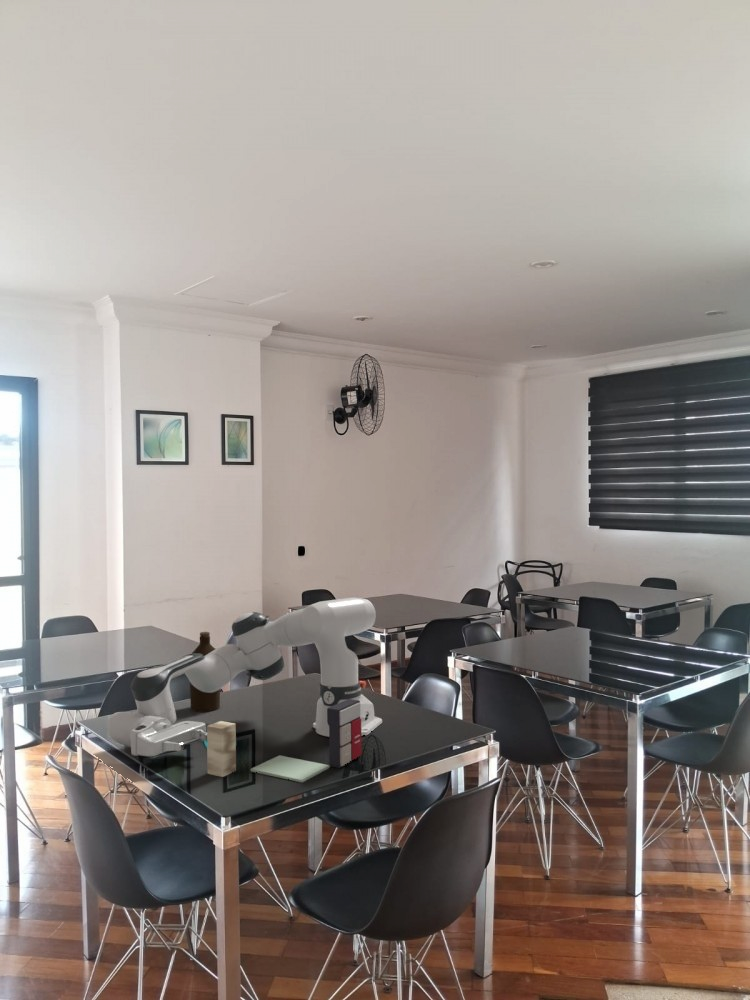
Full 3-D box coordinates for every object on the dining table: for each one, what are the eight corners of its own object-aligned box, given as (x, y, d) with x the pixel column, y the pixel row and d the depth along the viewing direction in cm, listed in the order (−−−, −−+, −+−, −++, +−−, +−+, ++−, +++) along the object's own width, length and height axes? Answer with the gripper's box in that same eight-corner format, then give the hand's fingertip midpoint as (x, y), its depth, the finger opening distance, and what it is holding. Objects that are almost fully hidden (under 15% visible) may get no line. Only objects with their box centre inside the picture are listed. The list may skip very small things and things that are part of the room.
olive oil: (227, 708, 258) (227, 632, 258) (199, 714, 251) (198, 636, 251) (211, 702, 266) (210, 628, 266) (182, 708, 258) (182, 632, 258)
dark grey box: (341, 769, 198) (341, 710, 198) (327, 766, 201) (326, 708, 201) (363, 756, 208) (362, 700, 208) (349, 754, 210) (348, 698, 210)
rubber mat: (279, 757, 208) (279, 755, 208) (329, 767, 200) (329, 765, 200) (250, 771, 197) (250, 768, 197) (302, 782, 189) (302, 780, 189)
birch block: (220, 767, 200) (220, 720, 200) (235, 770, 198) (235, 723, 198) (207, 773, 196) (207, 725, 196) (222, 777, 194) (222, 728, 194)
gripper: (183, 735, 217) (221, 743, 210) (126, 756, 199) (166, 766, 192) (183, 712, 217) (221, 719, 210) (126, 732, 199) (166, 740, 192)
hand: (194, 742), depth 201 cm, fingers open, 8 cm apart
